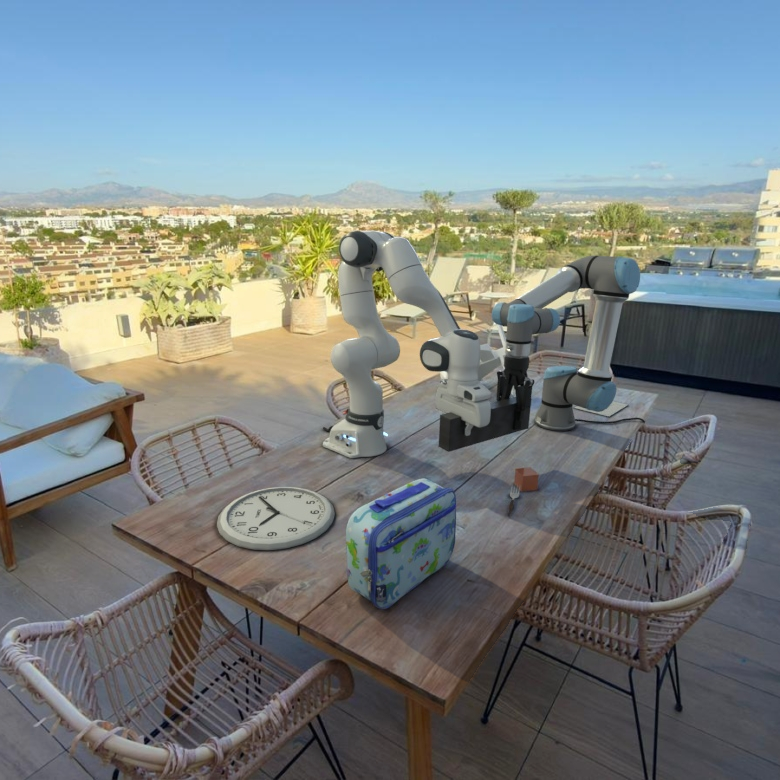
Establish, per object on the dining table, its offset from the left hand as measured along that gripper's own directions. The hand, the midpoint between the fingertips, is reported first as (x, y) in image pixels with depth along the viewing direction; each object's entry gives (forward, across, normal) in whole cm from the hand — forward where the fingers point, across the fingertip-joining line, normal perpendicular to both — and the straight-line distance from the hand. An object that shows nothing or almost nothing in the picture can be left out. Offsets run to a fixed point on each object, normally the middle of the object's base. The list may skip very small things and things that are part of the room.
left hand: (459, 431), depth 154 cm
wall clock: (+16, -10, -54) cm, 57 cm away
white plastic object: (+16, -60, +68) cm, 92 cm away
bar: (+4, 0, +11) cm, 12 cm away
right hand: (+3, 0, +22) cm, 22 cm away
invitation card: (+16, -17, +99) cm, 101 cm away
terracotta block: (+16, +15, +14) cm, 26 cm away
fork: (+16, +20, +3) cm, 25 cm away
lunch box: (+16, +29, -42) cm, 53 cm away
